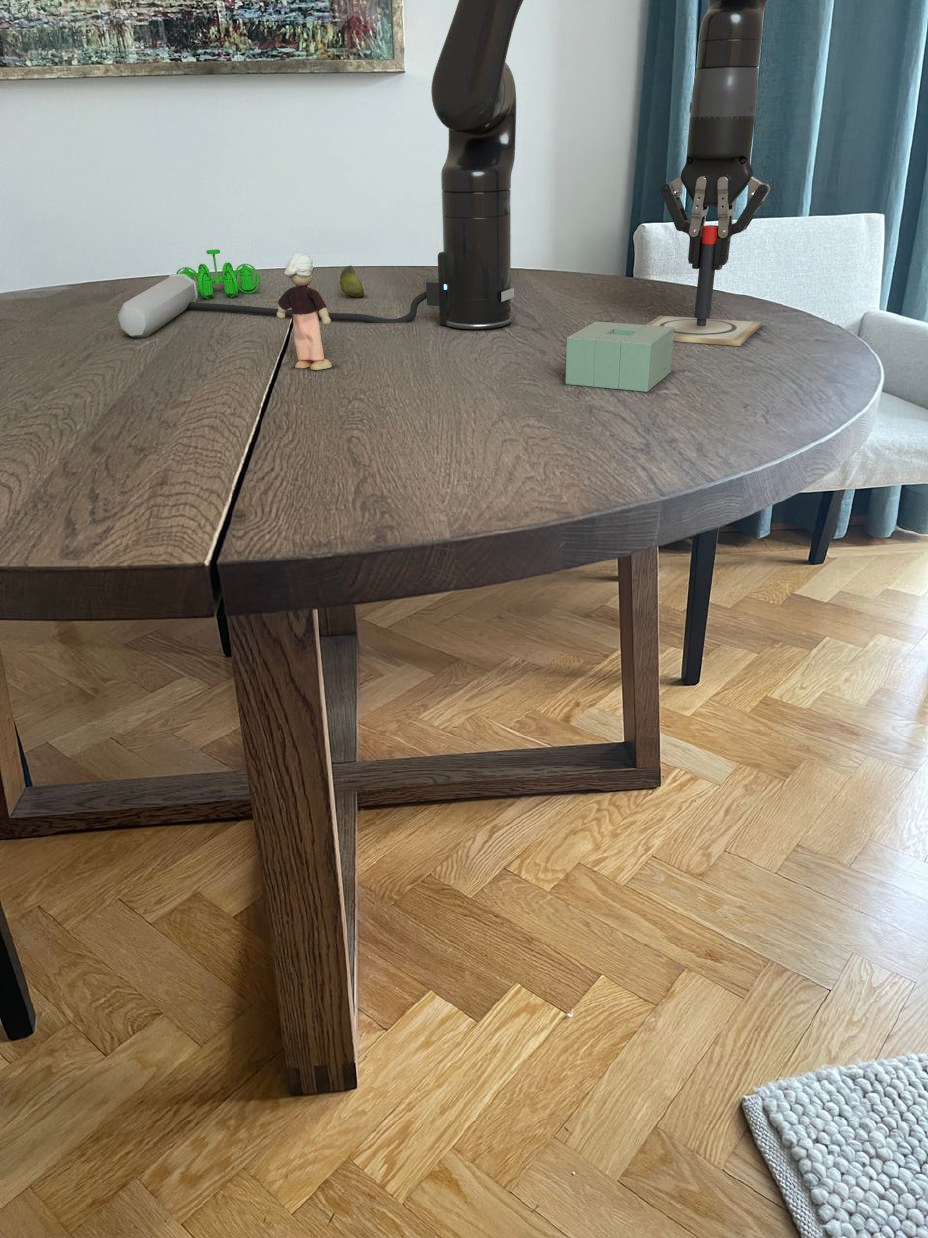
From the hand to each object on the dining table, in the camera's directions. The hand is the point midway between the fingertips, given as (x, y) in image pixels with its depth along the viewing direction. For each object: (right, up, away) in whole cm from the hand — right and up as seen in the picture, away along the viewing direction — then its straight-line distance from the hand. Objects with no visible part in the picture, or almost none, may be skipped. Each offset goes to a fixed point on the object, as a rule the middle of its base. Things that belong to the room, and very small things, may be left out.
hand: (706, 267), depth 118 cm
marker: (0, -6, +3) cm, 7 cm away
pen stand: (-14, -18, -14) cm, 27 cm away
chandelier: (-73, +12, +43) cm, 86 cm away
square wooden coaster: (0, -6, +6) cm, 9 cm away
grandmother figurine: (-49, -14, -6) cm, 52 cm away
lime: (-49, +8, +36) cm, 61 cm away
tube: (-76, -1, +20) cm, 79 cm away
